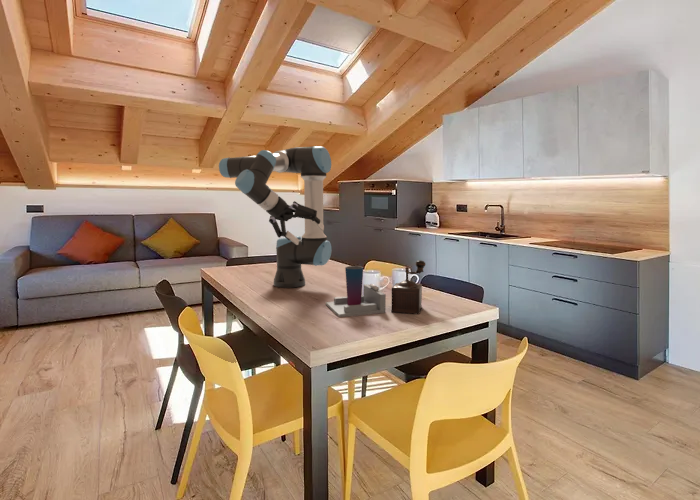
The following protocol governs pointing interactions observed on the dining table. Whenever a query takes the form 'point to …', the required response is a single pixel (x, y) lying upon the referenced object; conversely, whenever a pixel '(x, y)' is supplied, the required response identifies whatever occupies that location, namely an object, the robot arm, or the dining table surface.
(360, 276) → the cup
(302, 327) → the dining table surface
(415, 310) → the manual coffee grinder
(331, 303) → the dock
